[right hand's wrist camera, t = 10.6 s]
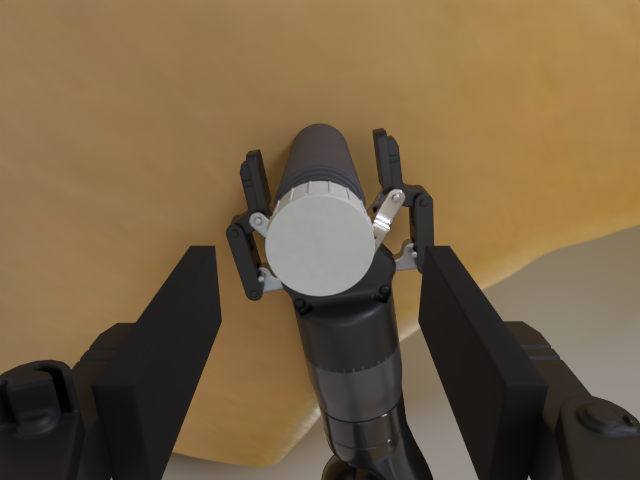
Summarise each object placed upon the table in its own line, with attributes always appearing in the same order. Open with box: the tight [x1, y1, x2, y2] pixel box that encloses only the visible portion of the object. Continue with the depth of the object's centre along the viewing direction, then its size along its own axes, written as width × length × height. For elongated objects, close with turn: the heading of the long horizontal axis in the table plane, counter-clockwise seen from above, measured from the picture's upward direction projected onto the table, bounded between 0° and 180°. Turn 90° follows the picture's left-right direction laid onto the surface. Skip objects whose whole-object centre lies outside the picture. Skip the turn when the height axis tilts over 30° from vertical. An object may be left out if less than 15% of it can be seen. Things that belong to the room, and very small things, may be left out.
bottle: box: [274, 124, 366, 210], centre depth 27 cm, size 4×4×20 cm
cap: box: [265, 181, 375, 296], centre depth 18 cm, size 4×4×2 cm
